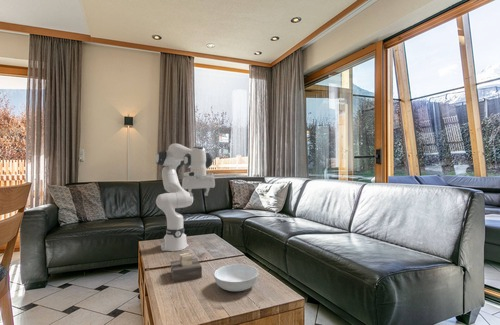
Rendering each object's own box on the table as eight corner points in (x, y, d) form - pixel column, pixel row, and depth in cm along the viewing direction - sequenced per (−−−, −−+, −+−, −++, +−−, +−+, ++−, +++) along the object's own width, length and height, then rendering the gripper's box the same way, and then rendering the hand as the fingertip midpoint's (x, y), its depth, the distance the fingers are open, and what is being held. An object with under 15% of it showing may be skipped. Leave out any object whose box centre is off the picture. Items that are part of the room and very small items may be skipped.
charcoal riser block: (170, 272, 144) (170, 261, 144) (196, 269, 149) (196, 258, 149) (173, 283, 131) (173, 270, 131) (201, 278, 136) (201, 266, 136)
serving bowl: (207, 283, 130) (207, 269, 130) (245, 274, 140) (245, 261, 140) (225, 301, 112) (225, 285, 112) (267, 290, 122) (267, 275, 122)
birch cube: (179, 263, 141) (179, 254, 141) (188, 262, 143) (188, 252, 144) (182, 266, 137) (182, 256, 137) (192, 264, 139) (192, 255, 139)
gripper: (212, 172, 170) (212, 194, 170) (180, 173, 159) (181, 196, 159) (216, 172, 165) (216, 195, 165) (184, 173, 154) (184, 197, 154)
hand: (199, 196), depth 162 cm, fingers open, 8 cm apart
